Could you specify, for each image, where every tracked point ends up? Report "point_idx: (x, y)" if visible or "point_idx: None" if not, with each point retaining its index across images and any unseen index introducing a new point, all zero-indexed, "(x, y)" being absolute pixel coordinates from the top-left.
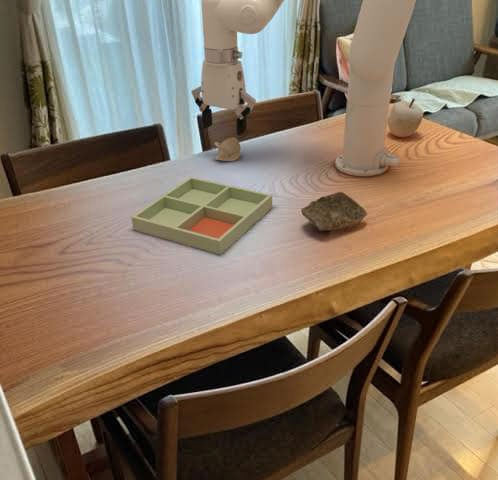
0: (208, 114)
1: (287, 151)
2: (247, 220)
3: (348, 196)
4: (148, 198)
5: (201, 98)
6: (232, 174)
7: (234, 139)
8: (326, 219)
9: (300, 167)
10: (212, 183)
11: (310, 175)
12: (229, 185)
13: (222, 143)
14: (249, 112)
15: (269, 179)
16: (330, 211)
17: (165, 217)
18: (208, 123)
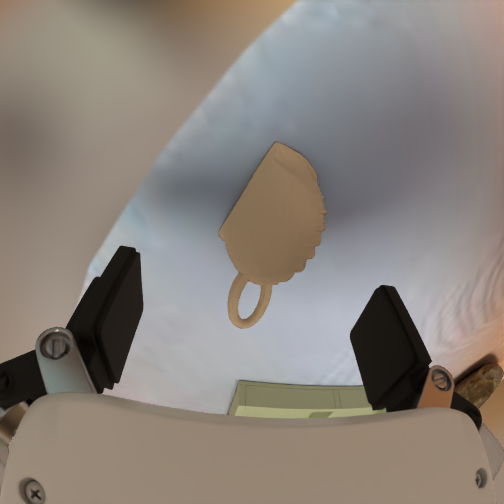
0: (115, 343)
1: (474, 108)
2: None
3: (500, 380)
4: (180, 403)
5: (12, 405)
6: (318, 314)
7: (310, 247)
8: None
9: (494, 230)
10: (299, 411)
11: (499, 267)
12: (338, 409)
13: (255, 283)
14: (456, 403)
15: (418, 311)
16: None
17: None
18: (134, 301)
